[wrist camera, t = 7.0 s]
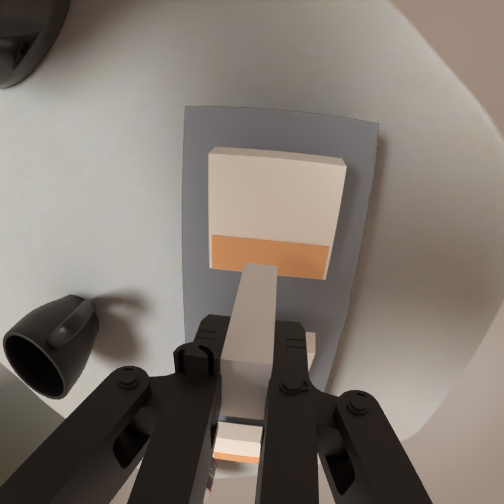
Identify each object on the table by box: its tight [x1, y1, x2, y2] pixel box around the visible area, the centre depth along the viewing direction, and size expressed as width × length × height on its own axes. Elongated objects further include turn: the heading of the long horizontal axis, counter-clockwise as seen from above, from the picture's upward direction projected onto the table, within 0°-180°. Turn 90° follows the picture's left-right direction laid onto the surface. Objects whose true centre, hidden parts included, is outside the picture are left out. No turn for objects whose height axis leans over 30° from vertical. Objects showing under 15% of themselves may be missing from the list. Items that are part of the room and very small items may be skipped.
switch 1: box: [213, 421, 263, 464], centre depth 27 cm, size 7×7×2 cm
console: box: [182, 106, 379, 427], centre depth 26 cm, size 34×12×6 cm, turn 176°
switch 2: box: [208, 147, 347, 280], centre depth 18 cm, size 7×7×2 cm
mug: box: [3, 295, 99, 400], centre depth 27 cm, size 8×12×10 cm
